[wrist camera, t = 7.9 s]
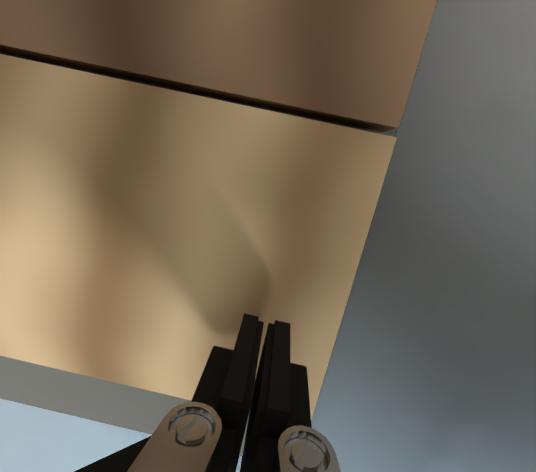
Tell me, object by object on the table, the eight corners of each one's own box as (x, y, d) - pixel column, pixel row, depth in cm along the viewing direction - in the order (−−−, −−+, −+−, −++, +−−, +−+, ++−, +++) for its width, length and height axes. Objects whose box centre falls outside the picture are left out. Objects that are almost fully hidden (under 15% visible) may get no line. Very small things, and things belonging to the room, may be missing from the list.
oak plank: (380, 139, 12) (397, 137, 10) (306, 393, 15) (308, 427, 13) (-44, 50, 12) (-105, 31, 11) (-28, 315, 16) (-73, 338, 14)
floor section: (525, -322, 9) (612, -500, 7) (295, 457, 17) (295, 510, 15) (-61, -423, 10) (-185, -626, 7) (-22, 382, 18) (-75, 420, 15)
